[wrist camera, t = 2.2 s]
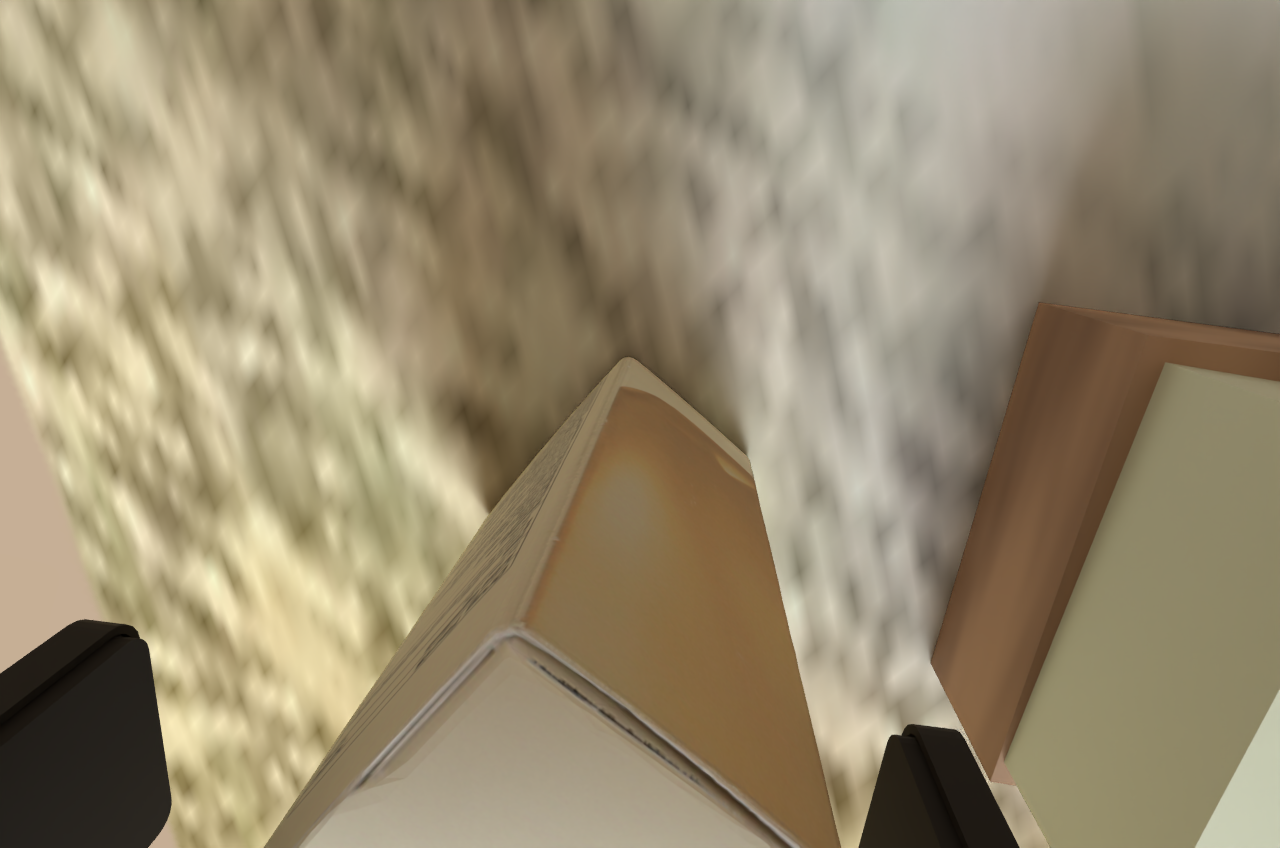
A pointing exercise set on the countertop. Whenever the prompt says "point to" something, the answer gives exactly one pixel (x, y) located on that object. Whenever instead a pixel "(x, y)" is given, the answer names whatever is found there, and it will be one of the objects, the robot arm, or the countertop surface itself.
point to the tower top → (1170, 639)
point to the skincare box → (592, 664)
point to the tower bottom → (1058, 496)
